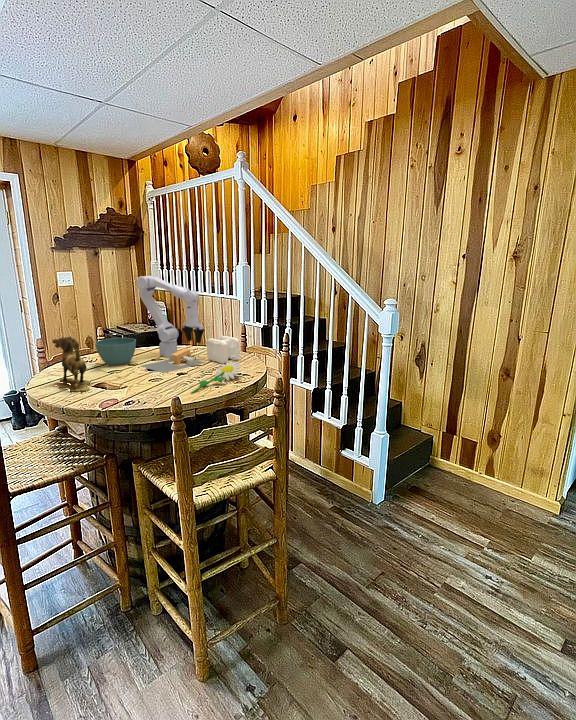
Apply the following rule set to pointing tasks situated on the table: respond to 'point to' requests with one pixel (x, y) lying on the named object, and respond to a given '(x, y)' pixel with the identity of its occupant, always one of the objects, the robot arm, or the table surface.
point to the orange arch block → (181, 355)
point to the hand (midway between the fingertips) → (194, 341)
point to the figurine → (71, 365)
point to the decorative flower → (222, 374)
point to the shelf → (171, 365)
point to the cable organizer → (223, 349)
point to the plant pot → (116, 350)
